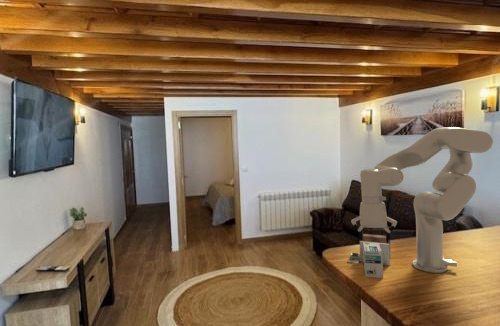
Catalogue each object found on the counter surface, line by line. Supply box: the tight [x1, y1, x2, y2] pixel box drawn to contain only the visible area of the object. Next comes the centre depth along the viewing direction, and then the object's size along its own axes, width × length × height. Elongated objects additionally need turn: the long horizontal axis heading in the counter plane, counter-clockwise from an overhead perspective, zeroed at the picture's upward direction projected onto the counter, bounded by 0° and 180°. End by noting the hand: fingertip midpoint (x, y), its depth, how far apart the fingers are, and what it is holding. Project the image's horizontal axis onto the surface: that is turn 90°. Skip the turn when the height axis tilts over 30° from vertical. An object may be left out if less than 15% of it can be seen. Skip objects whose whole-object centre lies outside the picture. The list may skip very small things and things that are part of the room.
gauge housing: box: [347, 233, 391, 265], centre depth 136 cm, size 17×12×10 cm
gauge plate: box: [349, 240, 391, 266], centre depth 133 cm, size 16×1×9 cm, turn 63°
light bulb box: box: [363, 242, 384, 279], centre depth 124 cm, size 11×7×11 cm, turn 164°
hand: (374, 240), depth 123 cm, fingers open, 9 cm apart
